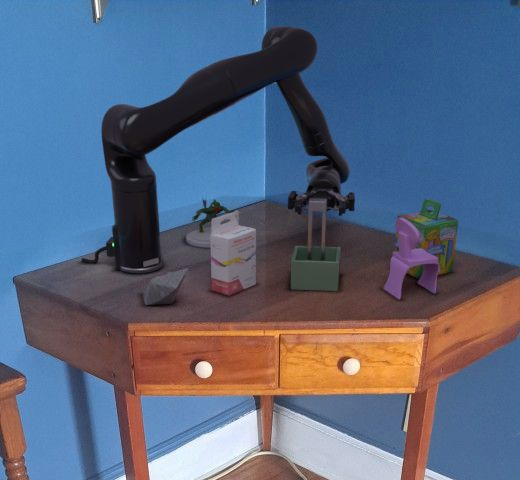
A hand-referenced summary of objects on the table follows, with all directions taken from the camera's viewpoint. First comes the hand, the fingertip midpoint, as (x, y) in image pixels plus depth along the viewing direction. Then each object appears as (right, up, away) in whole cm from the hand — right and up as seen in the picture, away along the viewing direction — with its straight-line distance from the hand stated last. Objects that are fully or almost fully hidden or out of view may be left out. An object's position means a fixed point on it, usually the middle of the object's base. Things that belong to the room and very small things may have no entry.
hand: (319, 210), depth 168 cm
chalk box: (+22, -12, +3) cm, 25 cm away
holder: (-1, -15, -3) cm, 15 cm away
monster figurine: (-24, -2, +22) cm, 33 cm away
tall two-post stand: (-1, -15, -3) cm, 15 cm away
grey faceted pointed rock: (-30, -20, -11) cm, 38 cm away
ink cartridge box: (-18, -17, -5) cm, 25 cm away
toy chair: (+17, -18, -7) cm, 26 cm away
